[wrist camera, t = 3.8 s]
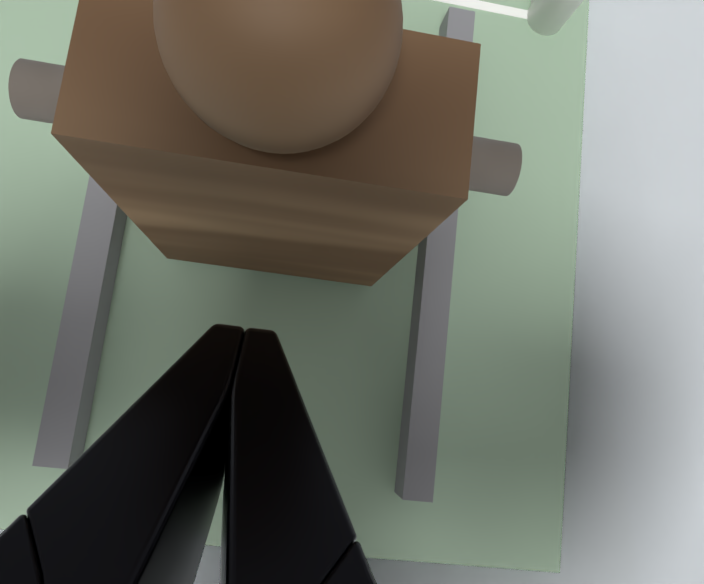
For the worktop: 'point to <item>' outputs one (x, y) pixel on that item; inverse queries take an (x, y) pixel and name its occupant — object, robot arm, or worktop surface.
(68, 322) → the pitch
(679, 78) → the worktop surface
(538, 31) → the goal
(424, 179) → the figure
